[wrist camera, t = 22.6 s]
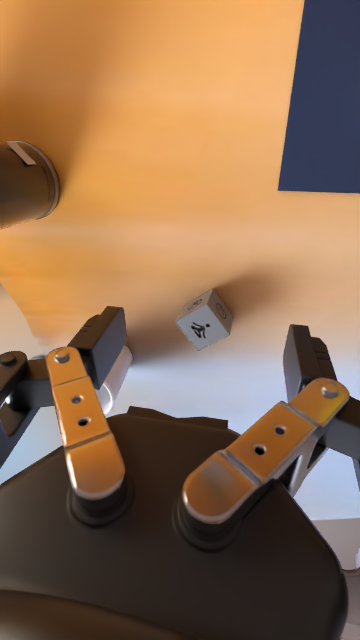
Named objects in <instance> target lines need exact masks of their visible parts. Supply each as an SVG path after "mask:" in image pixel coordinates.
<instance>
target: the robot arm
mask: <svg viewBox="0 0 360 640" xmlns="http://www.w3.org/2000/svg"><path fill="white" fill-rule="evenodd" d="M58 198H59V182H58V178H57V174H56V172H55V169H54V167H53V165H52V164H51V162H50V160H49V159H48V158H47V156H46V155H45V154H44V153H43V152H42V151H41V150H39V149H38V148H37V147H35V146H34V145H32V144H30V143H27V142H23V141H10V142H0V230H1V229H5V228H8V227H11V226H14V225H17V224H21V223H24V222H28V221H31V220H34V219H40V218H43V217H45V216H47V215H49V214H50V213H51V212H52V211H53V210H54V208H55V207H56V205H57V202H58ZM126 337H127V333H126V323H125V314H124V309H123V308H122V307H114V306H107V307H106V308H105V310H104V311H103V312H102V313H101V315H95V316H93V317H92V318H90V319H88V321H87V322H86V323H85V324H84V326H83V327H82V328H81V329H80V331H79V332H78V333H77V334H76V335H75V337H74V338H73V339H72V340H71V342H70V343H69V344H68V345H67V347H60V348H57V349H55V350H53V351H51V352H50V353H49V354H48V355H47V356H46V359H37V360H28V359H27V356H26V354H25V353H23V352H21V351H11V352H6V353H4V354H1V355H0V406H1V405H2V403H3V402H4V401H5V400H6V402H5V403H4V404H3V406H2V407H1V408H0V468H1V467H2V465H3V464H4V462H5V461H6V459H7V458H8V456H9V455H10V453H11V452H12V450H13V448H14V447H15V446H16V444H17V442H18V441H19V439H20V438H21V436H22V435H23V433H24V432H25V430H26V429H27V427H28V425H29V424H30V422H31V421H32V419H33V418H34V416H35V415H36V413H37V412H38V410H39V409H40V407H47V406H55V409H56V415H57V419H58V424H59V428H60V433H61V437H62V442H63V445H62V446H60V447H59V448H57V449H56V450H54V451H53V452H51V453H49V454H48V455H46V456H45V457H43V458H42V459H40V460H38V461H37V462H35V463H34V464H32V465H30V466H29V467H27V468H25V469H24V470H22V471H21V472H19V473H18V474H16V475H14V476H13V477H11V478H10V479H8V480H7V481H5V482H4V483H2V484H1V485H0V640H340V639H344V640H360V549H359V550H358V552H357V554H356V557H355V569H353V570H344V569H342V567H341V564H340V562H339V560H338V558H337V556H336V554H335V553H334V551H333V550H332V548H331V547H330V545H329V544H328V543H327V541H326V540H325V539H324V537H323V536H322V535H321V534H320V532H319V531H318V530H317V528H316V527H315V526H314V525H313V523H312V522H311V520H310V519H309V518H308V517H307V515H306V514H305V513H304V511H303V510H302V509H301V507H300V506H299V505H298V503H297V502H296V501H295V500H294V498H293V497H294V495H295V494H296V492H297V491H298V489H299V488H300V486H301V484H302V482H303V480H304V479H305V477H306V476H307V475H308V473H309V472H310V471H311V470H312V469H313V467H314V466H315V465H316V464H317V462H318V461H319V460H320V459H321V458H322V456H323V455H324V454H325V453H326V452H327V450H328V449H329V448H331V449H333V450H335V451H338V452H340V453H343V454H345V455H347V456H350V457H352V459H353V463H354V468H355V472H356V477H357V481H358V486H359V490H360V401H359V400H357V399H355V398H353V397H351V396H350V394H349V391H348V390H347V388H346V387H345V386H344V385H342V384H341V383H340V382H338V381H337V378H336V375H335V372H334V368H333V365H332V362H331V361H330V356H329V354H328V350H327V347H326V345H325V344H324V343H323V342H322V341H321V339H320V338H316V337H311V336H310V332H309V328H308V326H304V325H294V324H291V325H290V327H289V331H288V335H287V340H286V344H285V349H284V355H283V367H284V375H285V383H286V391H287V399H288V403H285V402H284V401H280V402H278V403H277V404H276V405H275V406H274V407H273V408H272V409H270V410H269V411H268V412H267V413H266V414H265V415H264V416H262V417H261V418H260V419H259V420H258V421H257V422H256V423H255V424H253V425H252V426H251V427H250V428H249V429H248V430H247V431H245V432H244V433H243V434H242V435H240V434H239V433H237V432H235V431H233V430H231V429H228V428H227V427H228V420H222V419H215V418H208V417H190V418H174V417H172V416H169V415H167V414H164V413H161V412H159V411H156V410H154V409H147V408H141V407H134V406H130V407H129V409H128V411H127V413H124V414H118V415H114V416H111V417H108V418H105V415H104V413H103V410H102V407H101V405H100V402H99V399H98V397H97V394H96V392H95V390H100V388H101V386H102V385H103V383H104V381H105V379H106V377H107V376H108V374H109V372H110V370H111V369H112V367H113V365H114V363H115V361H116V360H117V358H118V356H119V354H120V352H121V351H122V349H123V347H124V345H125V343H126Z"/></svg>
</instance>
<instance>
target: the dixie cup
mask: <svg viewBox="0 0 360 640" xmlns="http://www.w3.org/2000/svg"><path fill="white" fill-rule="evenodd" d="M131 362H132V354H131V352H130V350H129V348H128V347H127V346H126V345H124V347H123V349H122V351H121V352H120V354H119V356H118V358H117V360H116V361H115V363H114V365H113V367H112V369H111V370H110V372H109V374H108V376H107V377H106V379H105V381H104V383H103V385H102V386H101V388H100V390H95V392H96V394H97V397H98V399H99V402H100V405H101V407H102V410H103V413H104V415H106V414H108V413H109V412H110V411H111V410H112V409H113V407H114V404H115V399H116V397H117V394H118V392H119V390H120V387H121V385H122V383H123V380H124V378H125V376H126V373H127V371H128V369H129V366H130V364H131Z"/></svg>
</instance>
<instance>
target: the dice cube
mask: <svg viewBox="0 0 360 640" xmlns="http://www.w3.org/2000/svg"><path fill="white" fill-rule="evenodd" d="M233 318H234V317H233V315H232V314H231V312H230V311H229V310H228V308H227V307H226V305H225V304H224V303H223V301H222V300H221V298H220V297H219V296H218V294H217V293H216V291H215V290H214V289H211V290H209V291H208V292H206V293H204V294H203V295H201V296H199V297H198V298H196V299H194V300H193V301H191V302H189V303H188V304H186V305H184V307H183V309H182V311H181V313H180V314H179V316H178V318H177V320H176V324H177V325H178V326H179V328H180V329H181V330H182V331H183V333H184V334H185V335H186V337H187V338H188V339H189V340H190V342H191V343H192V344H193V346H194V347H195V348H196V349H197V351H199V350H201V349H203V348H205V347H207V346H209V345H211V344H213V343H215V342H217V341H219V340H221V339H223V338H225V337H227V336H229V335H230V331H231V327H232V322H233Z"/></svg>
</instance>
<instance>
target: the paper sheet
mask: <svg viewBox="0 0 360 640" xmlns="http://www.w3.org/2000/svg"><path fill="white" fill-rule="evenodd" d="M278 191H307V192H336V193H360V0H305V2H304V9H303V16H302V23H301V30H300V37H299V44H298V52H297V59H296V66H295V73H294V80H293V87H292V94H291V101H290V108H289V115H288V122H287V129H286V137H285V144H284V151H283V158H282V165H281V172H280V179H279V186H278Z"/></svg>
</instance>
